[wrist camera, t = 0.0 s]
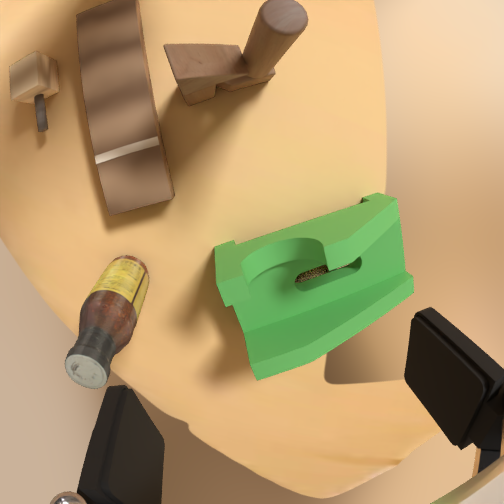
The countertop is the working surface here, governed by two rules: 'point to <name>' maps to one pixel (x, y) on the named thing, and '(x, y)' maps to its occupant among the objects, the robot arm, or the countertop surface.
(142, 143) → the walnut board
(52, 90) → the block
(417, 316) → the robot arm
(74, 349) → the sauce bottle
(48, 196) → the countertop surface
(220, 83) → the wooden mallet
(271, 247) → the green cradle stand
